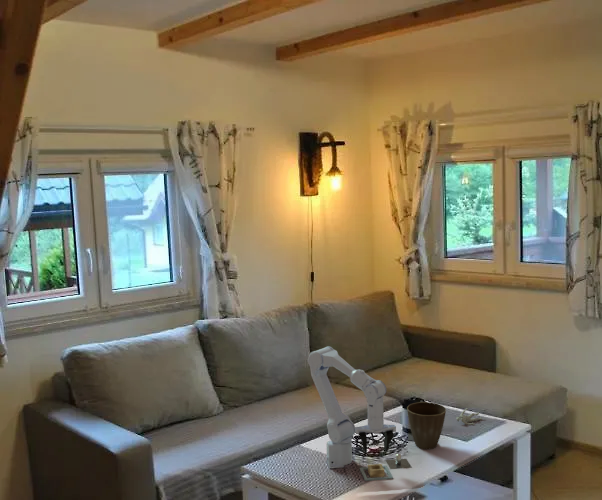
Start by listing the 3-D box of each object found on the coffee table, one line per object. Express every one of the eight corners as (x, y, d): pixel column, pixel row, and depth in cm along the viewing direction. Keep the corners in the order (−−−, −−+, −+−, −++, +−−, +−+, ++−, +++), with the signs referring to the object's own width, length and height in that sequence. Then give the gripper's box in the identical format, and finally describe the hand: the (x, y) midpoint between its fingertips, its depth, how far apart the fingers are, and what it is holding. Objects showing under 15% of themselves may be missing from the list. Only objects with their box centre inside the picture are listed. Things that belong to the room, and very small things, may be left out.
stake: (390, 471, 258) (390, 459, 258) (385, 462, 266) (385, 451, 266) (411, 470, 259) (411, 458, 259) (406, 461, 267) (406, 449, 267)
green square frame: (365, 483, 249) (365, 479, 249) (359, 471, 259) (359, 467, 259) (393, 481, 250) (393, 477, 250) (386, 469, 260) (386, 465, 260)
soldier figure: (485, 424, 305) (467, 422, 298) (476, 430, 307) (459, 427, 300) (477, 408, 309) (460, 405, 302) (470, 413, 312) (452, 411, 305)
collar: (370, 478, 252) (370, 470, 251) (367, 472, 257) (367, 464, 256) (384, 477, 252) (384, 469, 252) (381, 471, 257) (381, 463, 257)
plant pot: (432, 437, 289) (432, 399, 287) (453, 451, 275) (453, 411, 273) (400, 444, 283) (400, 405, 281) (420, 458, 269) (420, 417, 267)
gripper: (357, 420, 249) (358, 457, 251) (398, 417, 251) (398, 454, 253) (354, 413, 256) (354, 449, 258) (393, 410, 258) (393, 446, 260)
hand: (375, 451), depth 256 cm, fingers open, 7 cm apart
